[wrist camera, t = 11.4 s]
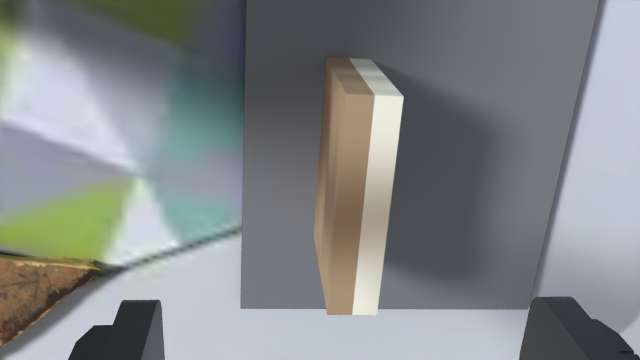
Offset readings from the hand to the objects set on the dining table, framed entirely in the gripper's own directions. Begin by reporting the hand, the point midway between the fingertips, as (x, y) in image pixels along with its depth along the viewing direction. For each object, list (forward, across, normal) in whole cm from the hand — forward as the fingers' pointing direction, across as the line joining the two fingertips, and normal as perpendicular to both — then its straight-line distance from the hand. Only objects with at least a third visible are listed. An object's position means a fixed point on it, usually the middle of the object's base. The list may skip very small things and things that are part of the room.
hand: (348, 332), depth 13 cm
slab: (+13, -2, +1) cm, 13 cm away
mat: (+14, -4, +1) cm, 14 cm away
